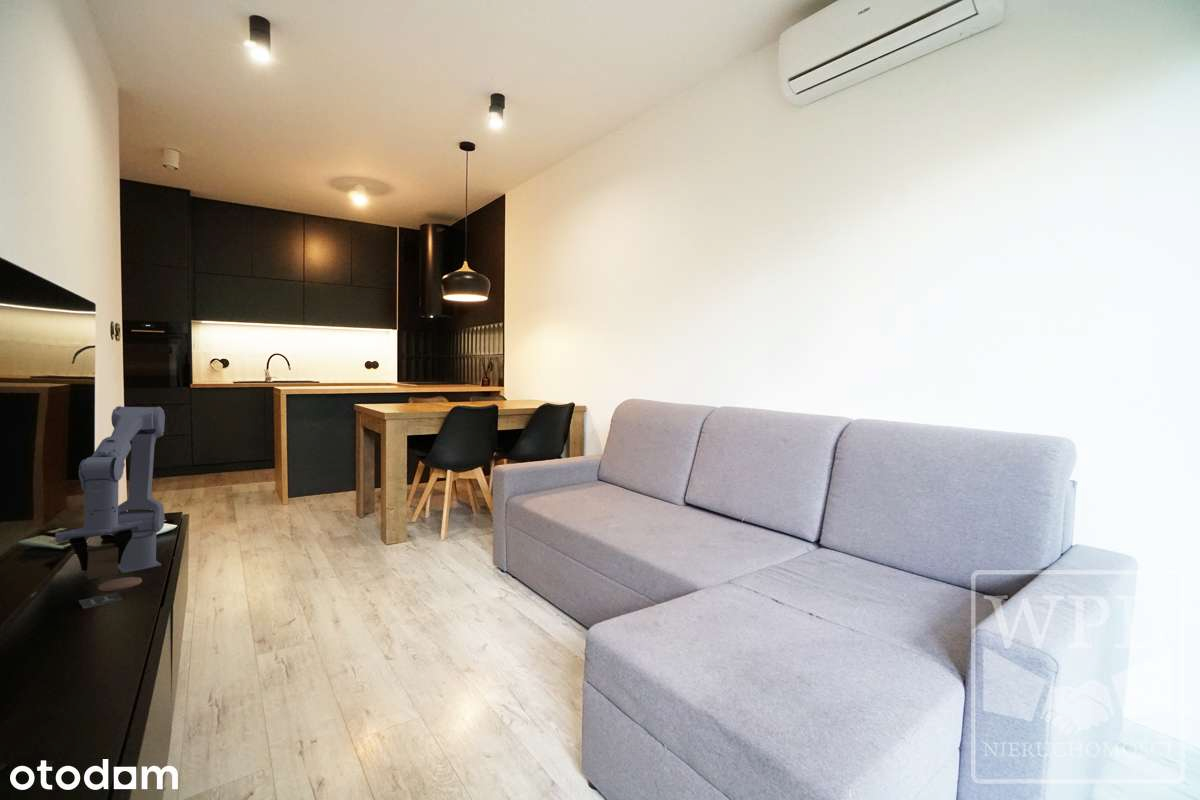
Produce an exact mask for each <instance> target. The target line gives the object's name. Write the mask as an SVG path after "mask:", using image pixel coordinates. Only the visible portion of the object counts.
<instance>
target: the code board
mask: <svg viewBox="0 0 1200 800" xmlns="http://www.w3.org/2000/svg"><path fill="white" fill-rule="evenodd" d="M122 600H123V598H122V596H120V595H119V594H118V592H115V591H114V592H112V593H108V594H102V595H99V596H98V595H97V596H93V597H88V598H84V599H80V600H78V603H79V605H81V607H82V609H84V610H85V609H88V608H93V607H97V606H101V605H106V604H110V603H115V602H121V601H122Z"/></svg>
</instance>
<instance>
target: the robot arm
mask: <svg viewBox="0 0 1200 800" xmlns="http://www.w3.org/2000/svg"><path fill="white" fill-rule="evenodd" d="M110 417H111V424H112V426H113V430H112V433H111V436H107V437H105V438H103V439H102V440H101V442H100V443H99V445H98V446H97V447H96V449H95V451H94V452H93V454H92V455H91V456H88V457H87V458H86V459H82V460H81V462H80V464H79V466H78V478H79V479H78V480H80V489H81V490H82V491H83V527H80V528H76V529H71V530H64V531H59V532H55V533H54V534H55V535H54V536H55V539H54V540H55V543H56V544H60V543H64V542H68V543H69V545H71V547H72V549H73V550H74V552H75V554H76V556H77V559H78V560H79V564H80V569H81V571H82V572H84V571H86V570H87V558H86V554H87V548H88V542H87V539H88V538H95V537H100V536H101V537H102V536H106V535H107V536H108V535H114V544H115V545H116V546H117V547H118V571H120V572H121V574H127V573H131V572H136V571H142V570H147V569H153V568H155V567H157V568H158V567H161V566H162V563H160V562H159V561H158V560H157V533H160V532H161V530H162V529H164V524H165V521H166V520H165V517H166V516H165V510H164V508H165V507H164V504H163V503H162V502H160V500H157V499H155V498H153V497H152V493H153V492H152V491H153V489H152V488H153V476H154V475H153V473H154V459H155V445H156V441H157V439H158V438H160V437H163V436H164V433H165V424H166V423H165V422H166V420H165V419H166V415H165V411H164V409H163V408H162V407H161V406H156V407H155V406H119V405H117V406H116V407H115V408H114V409H113V410H112V413H111V416H110ZM130 451H131V453H130ZM129 453H130V454H131V455H130V465H129V466H130V468H129V480H128V481H129V482H128V496H127V497H128V498H127V500H125V501H123V502H122V503H120V504H119V481H120V480H121V479H122V477H123V475H124V469H125V467H126V464H125V461H126V459H127V457H128V455H129ZM130 509H151V510H138V511H128V510H130Z"/></svg>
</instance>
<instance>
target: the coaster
mask: <svg viewBox="0 0 1200 800" xmlns="http://www.w3.org/2000/svg"><path fill="white" fill-rule="evenodd" d="M142 582H143V579H142V577H137V576H128V577H121V578H116V579H111V580H109V581H108V580H107V581H104V582H102V583H101V584H99V585H98V590H99V591H102V592H108V591H109V592H110V591H111V592H112V591H114V592H115V591H120V590H125V589H129V588H132V587H135V586H138V585H140V584H142Z"/></svg>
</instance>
